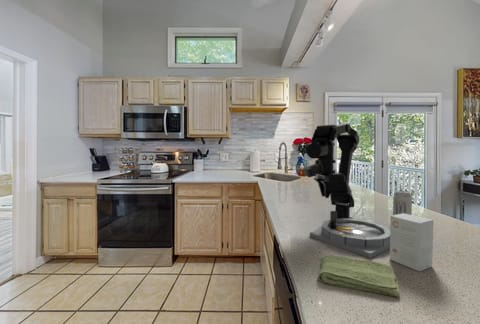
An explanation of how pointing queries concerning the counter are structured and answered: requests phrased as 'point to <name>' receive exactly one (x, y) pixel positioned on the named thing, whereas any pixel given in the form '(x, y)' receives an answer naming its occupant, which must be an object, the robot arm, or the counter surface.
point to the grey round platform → (355, 238)
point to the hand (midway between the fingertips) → (325, 197)
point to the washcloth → (358, 275)
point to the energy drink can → (402, 203)
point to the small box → (411, 241)
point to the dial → (352, 228)
